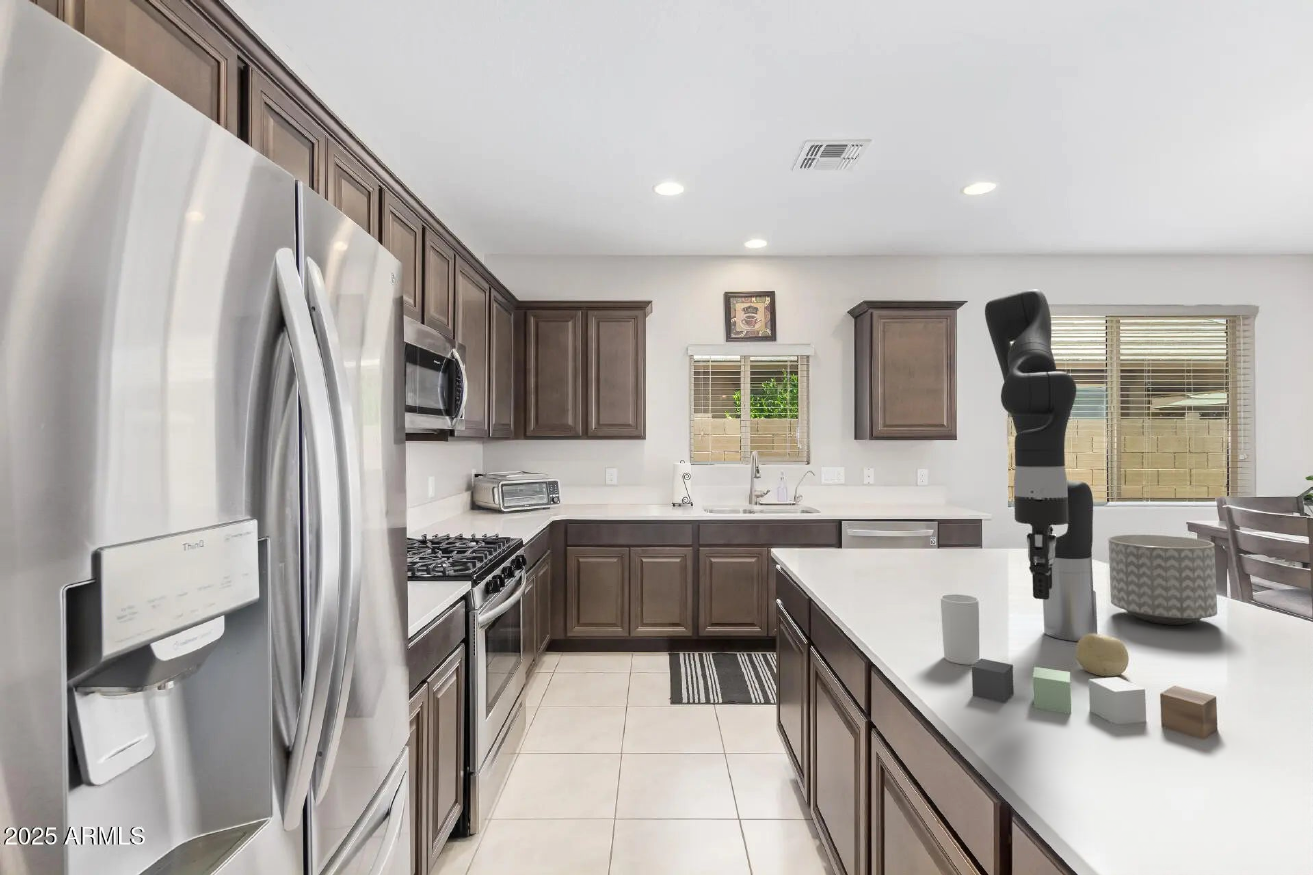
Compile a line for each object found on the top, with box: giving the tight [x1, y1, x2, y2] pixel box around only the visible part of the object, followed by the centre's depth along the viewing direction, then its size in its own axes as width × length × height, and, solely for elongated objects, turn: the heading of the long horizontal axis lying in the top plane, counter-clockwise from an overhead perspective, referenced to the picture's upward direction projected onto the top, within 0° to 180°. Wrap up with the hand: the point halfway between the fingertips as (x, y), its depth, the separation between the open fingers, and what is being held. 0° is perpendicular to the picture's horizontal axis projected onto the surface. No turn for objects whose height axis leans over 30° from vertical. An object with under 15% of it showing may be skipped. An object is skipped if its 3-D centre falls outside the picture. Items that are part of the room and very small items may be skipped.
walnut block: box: [1159, 685, 1218, 740], centre depth 93 cm, size 5×5×5 cm
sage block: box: [1032, 666, 1072, 715], centre depth 103 cm, size 5×5×5 cm
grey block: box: [1088, 676, 1147, 725], centre depth 98 cm, size 5×5×5 cm
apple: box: [1075, 633, 1129, 678], centre depth 115 cm, size 8×8×8 cm
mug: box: [940, 593, 980, 666], centre depth 125 cm, size 10×7×12 cm, turn 137°
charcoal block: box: [971, 658, 1015, 704], centre depth 107 cm, size 5×5×5 cm
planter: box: [1107, 534, 1218, 626], centre depth 145 cm, size 19×19×18 cm
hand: (1042, 593), depth 103 cm, fingers open, 8 cm apart
